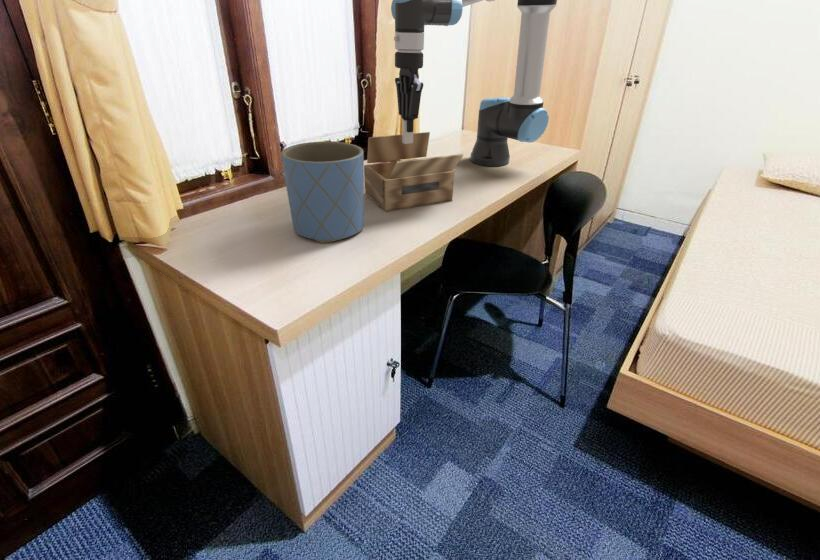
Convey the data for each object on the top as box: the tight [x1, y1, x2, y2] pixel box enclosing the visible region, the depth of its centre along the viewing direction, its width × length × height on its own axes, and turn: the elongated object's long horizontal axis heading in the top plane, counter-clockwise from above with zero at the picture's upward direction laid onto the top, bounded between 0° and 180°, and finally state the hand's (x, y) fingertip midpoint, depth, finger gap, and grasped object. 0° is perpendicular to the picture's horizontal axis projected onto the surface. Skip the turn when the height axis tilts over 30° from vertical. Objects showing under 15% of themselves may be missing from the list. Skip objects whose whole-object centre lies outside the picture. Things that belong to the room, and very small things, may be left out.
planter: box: [280, 141, 365, 244], centre depth 107 cm, size 19×19×20 cm
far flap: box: [366, 131, 431, 164], centre depth 132 cm, size 20×8×1 cm
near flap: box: [389, 153, 464, 179], centre depth 119 cm, size 20×8×1 cm
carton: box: [364, 157, 455, 212], centre depth 131 cm, size 23×16×9 cm
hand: (407, 142), depth 126 cm, fingers closed
